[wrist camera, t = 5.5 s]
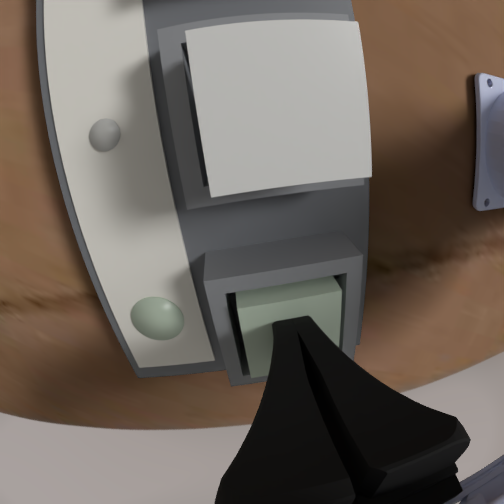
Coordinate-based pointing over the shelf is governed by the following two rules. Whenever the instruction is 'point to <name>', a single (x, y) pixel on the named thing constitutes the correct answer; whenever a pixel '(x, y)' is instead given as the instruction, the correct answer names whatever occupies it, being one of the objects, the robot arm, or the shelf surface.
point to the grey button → (280, 103)
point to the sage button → (285, 315)
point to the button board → (235, 195)
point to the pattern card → (122, 176)
